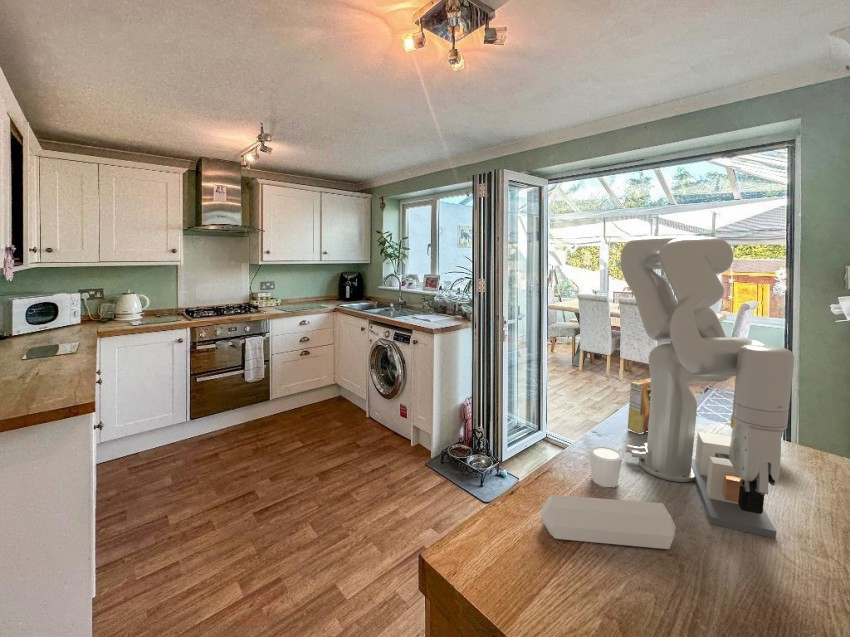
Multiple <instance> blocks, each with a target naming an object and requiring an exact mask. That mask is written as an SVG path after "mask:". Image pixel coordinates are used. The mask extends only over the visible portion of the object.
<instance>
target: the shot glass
mask: <svg viewBox="0 0 850 637" xmlns="http://www.w3.org/2000/svg"><path fill="white" fill-rule="evenodd" d="M589 451H590V452H589V453H590V454H589V456H590V457H589V459H590V472H591V473H590V476H591V477H592V478H591V480H592V479H593V481H594V482H595V483H597V484H599V485H602V486H605V487H604V488H606V487H613V488H616V487H617V486H618V483H619V480H620V479H619V478H620V472H621V469H622V468H621V467H622V462H623V454H622V453H621V452H620V451H618V450H617V449H614V448H611V447H607V446H595V447H592V448H591V449H590V450H589ZM593 481H592V482H593ZM594 482H593V483H594ZM595 483H594V484H595ZM597 484H596V485H597ZM599 485H598V486H599ZM602 486H601V487H602ZM615 486H616V487H615Z"/></svg>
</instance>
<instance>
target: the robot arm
mask: <svg viewBox="0 0 850 637" xmlns="http://www.w3.org/2000/svg"><path fill="white" fill-rule="evenodd" d="M733 262H734V251H733V248H732V246H731V245H730V244H729V242H728V241H726V240H725V239H723V238H720V237H714V236H713V237H712V236H711V237H709V236H707V237H706V236H697V235H696V236H695V235H663V236H662V235H658V236H657V235H656V236H655V235H653V236H652V235H649V236H641V237H635V238H633V239H630V240H628V241H627V242H626V243H625V244H624V245H623V247H622V250H621V253H620V268H621V269H620V270H621V273H622V276H623V278H624V280H625V282H626V284H627V286H628V287H629V289H630V290H631V293H632V295H633V297H634V299H635V303H636V306H637V310H638V311H639V312H638V313H639V315H640V318H641V322H642V325H643V328H644V330H645V333H646V334H647V336H648V337H649V339H651V340H654V341H659V342H666V343H662V344H659V345H657V346H655V347H654V348H653V349H652V350H651V351H650V353H649V355H648V370H649V378H651V398H650V413H649V427H648V433H647V440H646V441H647V442H644V445H640V446H635V445H632V444H626V446H625V452H626V453H630V454H631V457H634V458H638V464H639V466H640V467H641V468H642V469H643V470H644V471H645V472H647V473H649V475H652V476H655V477H657V478H659V479H662V480H666V481H671V482H677V483H688V482H689V483H690V482H693V481H694V480H695V475H694V472H693V469H692V467H691V466H692V459H693V457H694V456H693V455H694V444H695V443H694V442H695V434H696V432H695V431H696V422H697V411H698V410H697V409H698V402H697V399H696V397H695V395H694V394H693V392H692V390H691V389H690V387H689V386H690V385H692V384H712V383H713V384H717V383H723V382H726V381H728V380H730V379H731V378H732V377H735V381H734V390H733V392H734V393H733V402H732V403H733V404H732V413H731V415H732V418H733V420H735V421H734V425H733V429H732V432H731V435H730V436H731V443H730V450H729V460H730V462H731V464H732V465H733V467H734V468H735V470H736V472H737V473H738V475H739V476H740V484H741V485H743V486H740V489H739V499H738V505H739V506H740V508H741V510H743V511H747V512H752V513H758V514H762V513H763V509H764V502H765V495H769V485H770V486H776V485H778V482H779V478H780V473H781V472H780V471H781V462H782V461H781V458H782V437H781V430H783V431H784V430H786V429H787V428H788V423H789V422H788V421H789V412H790V402H791V393H792V385H793V376H794V365H795V356H794V353H793V351H791V350H790V349H787V348H785V347H781V346H777V345H770V344H766V343H763V342H761V341H759V340H757V339H754V338H752V337H745V336H743V337H742V336H739V337H738V336H735V337H728V336H726V334H725V331H724V329H723V327H722V325H721V321H720V319H719V317H718V315H717V314H716V312H715V311H714V310H713V309H712V308H711V307H712V306H714V305H715V304H717V303H718V302H719V301H721V299H722V298H724V297H723V296H724V294H725V288H724V286H723V284H722V282H721V281H720V279H719V277H718V275H720V274H722V273H724V272H727V271H728V269H730V268H731V266H732V265H733ZM654 270H663V272H664V274H665V277H666V278H667V281H666V280H665V279H664V277H662V276H661V275H659V274H658V273H656V272H655V271H654ZM667 342H668V343H667ZM694 482H695V481H694Z"/></svg>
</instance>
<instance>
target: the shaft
mask: <svg viewBox="0 0 850 637" xmlns="http://www.w3.org/2000/svg"><path fill="white" fill-rule="evenodd" d="M715 457H717V458H723V459H729V458H728V457H727V455H726V454H721V453H715ZM740 486H743V485H741V484H740V477H738V476H732V475H727V474H725V476H724V485H723V496H724V498H725V500H730V501H734V502H738V499H739V489H740Z"/></svg>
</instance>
